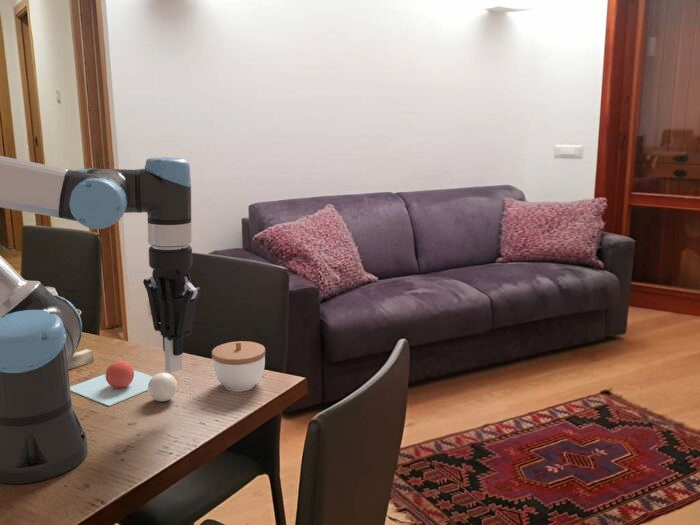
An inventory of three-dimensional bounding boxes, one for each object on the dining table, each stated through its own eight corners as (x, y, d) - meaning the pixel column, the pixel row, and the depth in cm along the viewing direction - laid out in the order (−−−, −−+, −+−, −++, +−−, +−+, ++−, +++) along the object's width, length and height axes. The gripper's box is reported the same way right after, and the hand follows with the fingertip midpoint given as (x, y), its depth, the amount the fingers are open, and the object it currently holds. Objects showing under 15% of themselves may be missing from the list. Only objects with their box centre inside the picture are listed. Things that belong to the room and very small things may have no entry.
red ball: (106, 358, 132) (97, 374, 135) (117, 380, 130) (107, 396, 133) (131, 353, 137) (122, 369, 139) (142, 375, 134) (132, 390, 137)
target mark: (167, 382, 138) (167, 381, 138) (109, 406, 127) (108, 405, 127) (124, 367, 146) (124, 366, 146) (66, 389, 134) (65, 388, 134)
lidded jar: (271, 376, 141) (270, 334, 139) (259, 397, 131) (258, 352, 129) (221, 374, 142) (220, 332, 140) (206, 395, 132) (204, 350, 130)
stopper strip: (48, 376, 141) (46, 365, 140) (42, 374, 142) (41, 363, 141) (93, 361, 149) (92, 350, 149) (88, 359, 151) (87, 348, 150)
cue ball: (146, 368, 128) (141, 393, 130) (157, 383, 124) (152, 408, 126) (172, 366, 132) (167, 390, 133) (184, 380, 128) (179, 405, 129)
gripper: (211, 247, 118) (213, 372, 123) (162, 237, 125) (166, 356, 130) (178, 253, 112) (182, 385, 117) (129, 243, 119) (134, 367, 124)
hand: (173, 369), depth 124 cm, fingers closed
